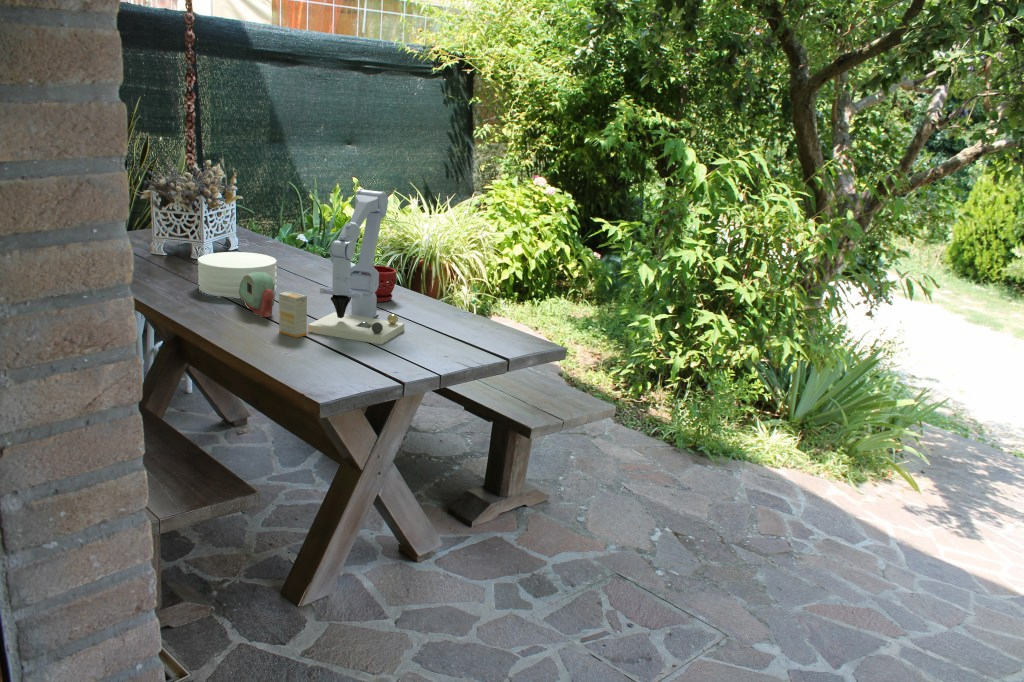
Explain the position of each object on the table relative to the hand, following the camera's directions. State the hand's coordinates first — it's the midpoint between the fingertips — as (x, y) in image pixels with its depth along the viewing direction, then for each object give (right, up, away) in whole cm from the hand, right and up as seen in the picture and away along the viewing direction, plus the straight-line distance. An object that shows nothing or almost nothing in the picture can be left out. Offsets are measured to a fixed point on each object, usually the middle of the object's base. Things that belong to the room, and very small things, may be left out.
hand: (340, 317), depth 284 cm
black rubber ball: (+14, -4, -10) cm, 17 cm away
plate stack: (-47, +11, +40) cm, 62 cm away
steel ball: (+8, -3, -1) cm, 9 cm away
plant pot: (+6, +8, +41) cm, 43 cm away
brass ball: (+17, -1, +1) cm, 17 cm away
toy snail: (-31, +2, +14) cm, 34 cm away
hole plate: (+5, -5, 0) cm, 7 cm away
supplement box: (-14, -6, -8) cm, 17 cm away
